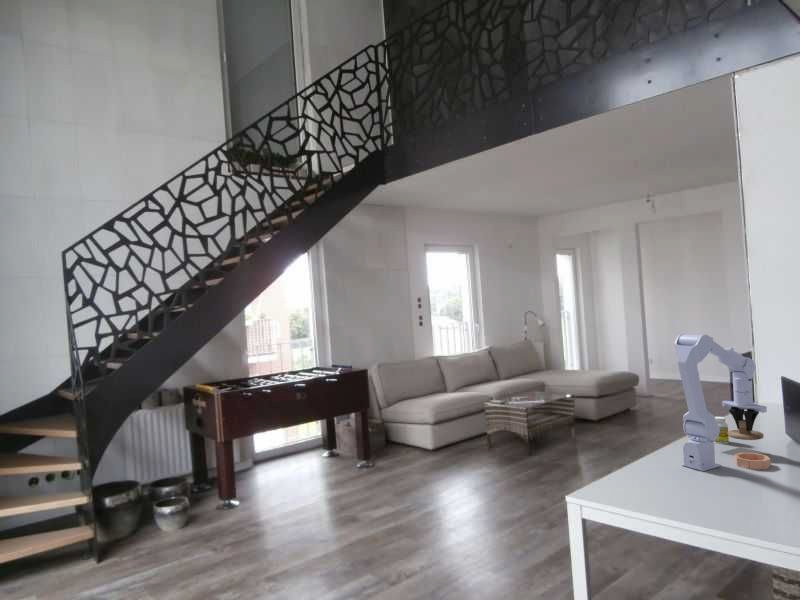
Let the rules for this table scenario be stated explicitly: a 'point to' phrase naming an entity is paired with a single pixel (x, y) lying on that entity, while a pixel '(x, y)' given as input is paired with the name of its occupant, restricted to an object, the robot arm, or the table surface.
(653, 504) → the table surface
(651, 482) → the table surface
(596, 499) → the table surface
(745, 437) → the lid
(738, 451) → the mat
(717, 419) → the supplement bottle
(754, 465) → the bowl
